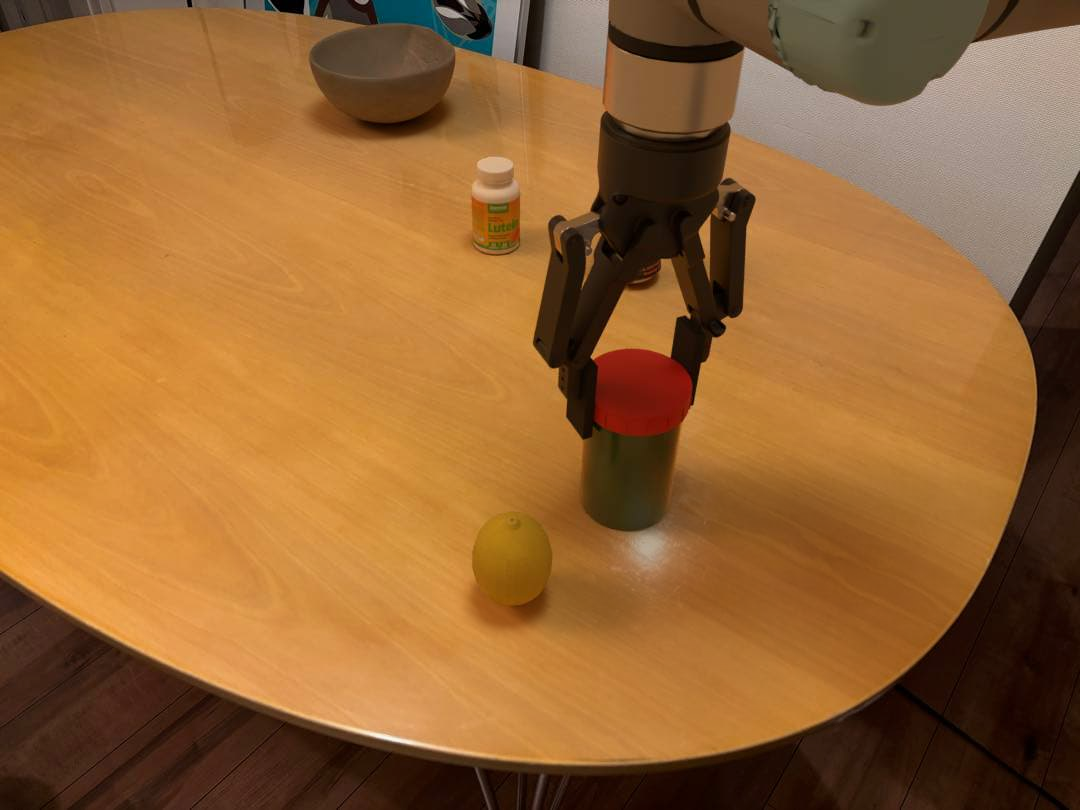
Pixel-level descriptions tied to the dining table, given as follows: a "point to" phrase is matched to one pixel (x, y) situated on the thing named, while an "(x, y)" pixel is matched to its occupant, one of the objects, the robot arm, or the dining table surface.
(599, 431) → the jar
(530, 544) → the lemon
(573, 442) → the dining table surface
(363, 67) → the bowl
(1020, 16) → the robot arm
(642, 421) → the cap
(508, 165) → the supplement bottle
